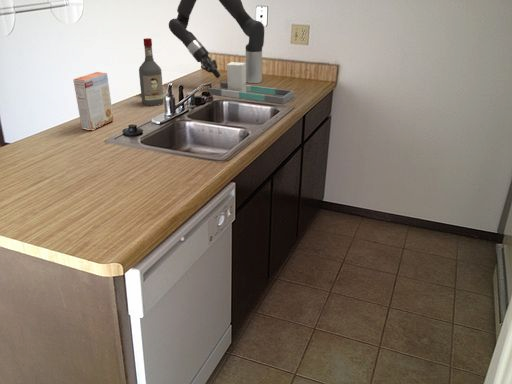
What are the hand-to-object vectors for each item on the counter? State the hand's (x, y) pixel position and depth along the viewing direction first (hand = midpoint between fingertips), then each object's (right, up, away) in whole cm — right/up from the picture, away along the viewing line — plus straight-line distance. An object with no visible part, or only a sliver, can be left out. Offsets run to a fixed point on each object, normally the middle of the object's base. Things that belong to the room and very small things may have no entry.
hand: (219, 76), depth 248 cm
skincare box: (+9, -9, 0) cm, 13 cm away
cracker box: (-47, -33, -50) cm, 76 cm away
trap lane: (+17, -10, -3) cm, 20 cm away
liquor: (-31, -18, -19) cm, 40 cm away
